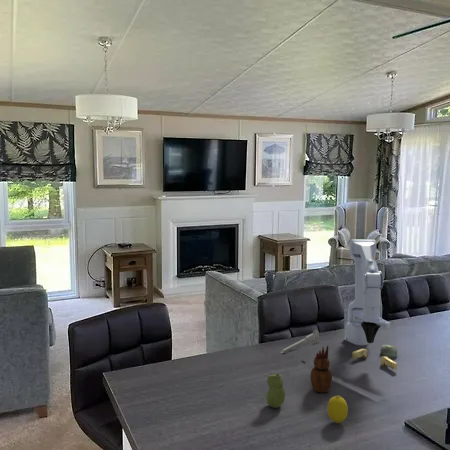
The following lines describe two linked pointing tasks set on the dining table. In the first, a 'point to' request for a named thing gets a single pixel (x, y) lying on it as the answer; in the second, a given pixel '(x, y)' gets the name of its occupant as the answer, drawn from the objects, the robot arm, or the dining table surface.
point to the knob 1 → (360, 354)
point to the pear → (275, 391)
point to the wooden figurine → (321, 372)
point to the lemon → (337, 409)
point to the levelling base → (389, 351)
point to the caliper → (303, 341)
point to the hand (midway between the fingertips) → (370, 342)
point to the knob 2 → (388, 362)
